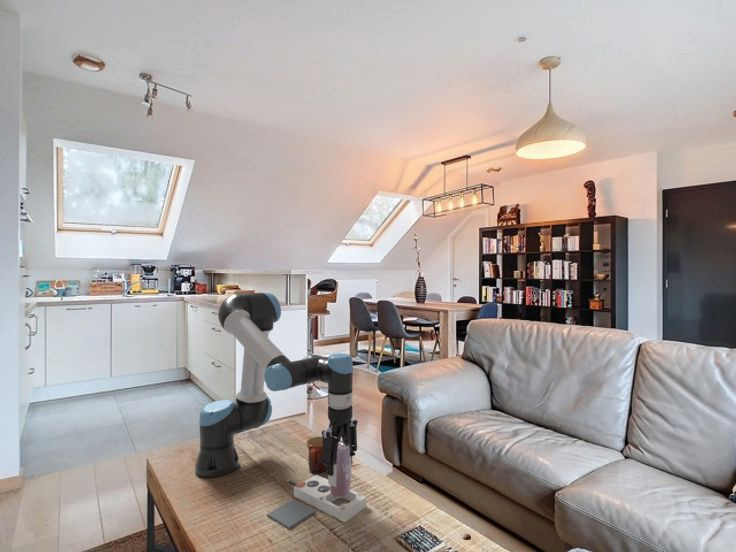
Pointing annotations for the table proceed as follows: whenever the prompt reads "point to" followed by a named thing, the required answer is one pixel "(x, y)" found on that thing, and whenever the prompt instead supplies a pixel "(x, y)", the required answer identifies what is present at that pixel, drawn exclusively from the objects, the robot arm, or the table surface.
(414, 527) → the table surface
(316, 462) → the mug
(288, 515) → the coaster
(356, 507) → the strip dock
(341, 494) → the beverage can
